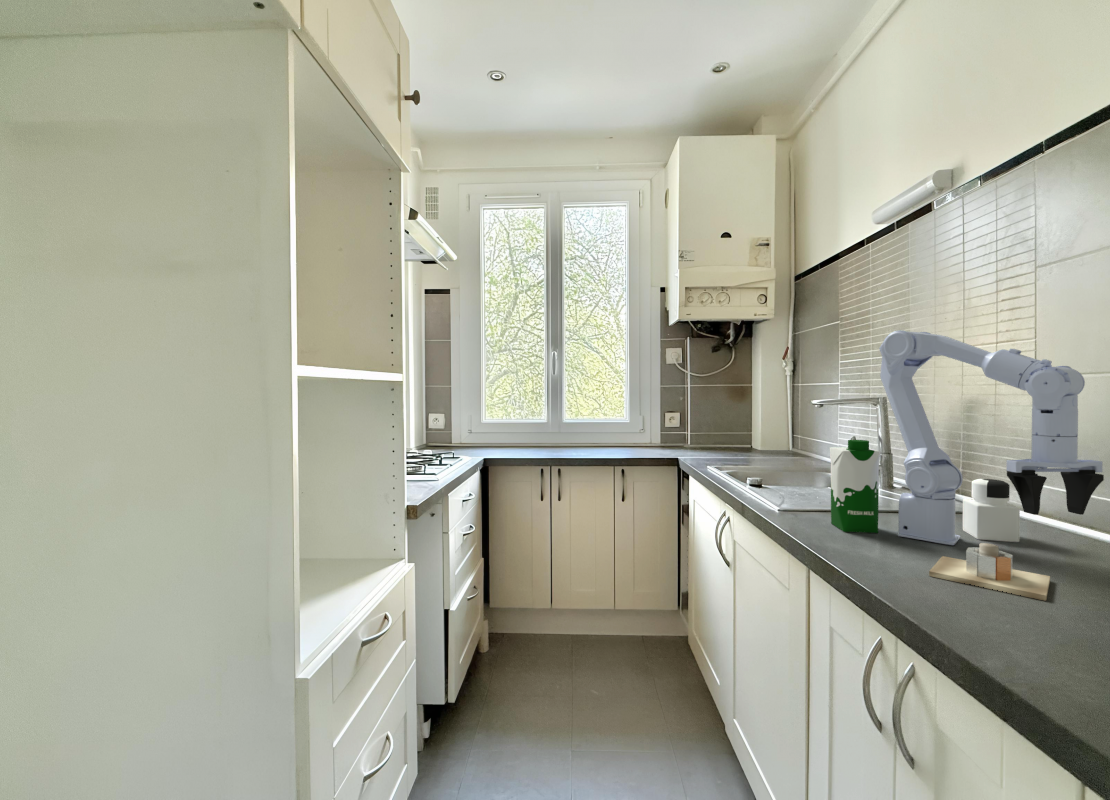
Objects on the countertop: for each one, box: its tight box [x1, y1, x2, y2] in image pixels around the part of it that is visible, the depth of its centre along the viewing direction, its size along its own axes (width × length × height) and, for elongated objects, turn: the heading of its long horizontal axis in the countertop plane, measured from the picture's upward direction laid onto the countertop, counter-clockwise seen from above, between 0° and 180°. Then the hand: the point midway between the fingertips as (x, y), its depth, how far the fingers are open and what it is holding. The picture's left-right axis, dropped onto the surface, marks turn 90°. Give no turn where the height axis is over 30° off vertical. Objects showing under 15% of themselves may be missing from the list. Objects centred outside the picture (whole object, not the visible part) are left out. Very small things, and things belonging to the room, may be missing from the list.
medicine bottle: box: [962, 478, 1021, 543], centre depth 106 cm, size 7×7×12 cm
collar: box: [965, 547, 1014, 580], centre depth 82 cm, size 6×6×4 cm
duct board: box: [928, 542, 1051, 602], centre depth 83 cm, size 14×11×6 cm
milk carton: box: [829, 439, 881, 534], centre depth 113 cm, size 9×9×20 cm
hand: (1053, 513), depth 88 cm, fingers open, 7 cm apart
